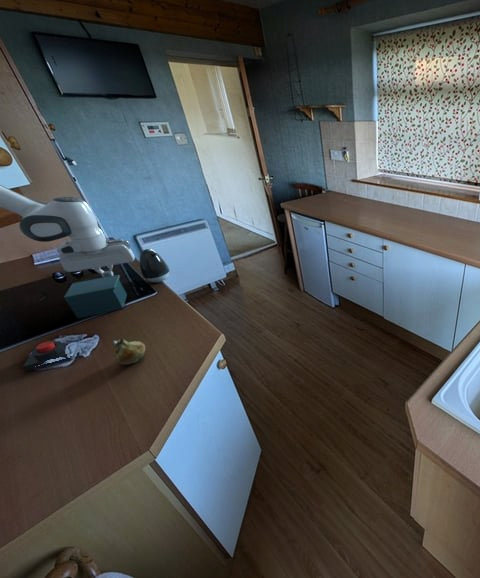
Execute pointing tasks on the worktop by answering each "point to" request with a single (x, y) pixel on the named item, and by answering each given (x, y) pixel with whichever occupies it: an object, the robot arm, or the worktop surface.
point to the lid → (92, 286)
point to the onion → (129, 351)
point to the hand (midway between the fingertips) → (108, 276)
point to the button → (45, 346)
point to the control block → (46, 357)
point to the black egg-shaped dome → (153, 266)
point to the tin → (98, 302)
